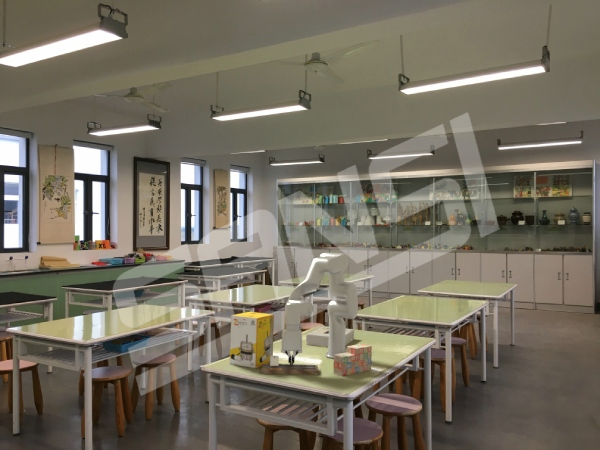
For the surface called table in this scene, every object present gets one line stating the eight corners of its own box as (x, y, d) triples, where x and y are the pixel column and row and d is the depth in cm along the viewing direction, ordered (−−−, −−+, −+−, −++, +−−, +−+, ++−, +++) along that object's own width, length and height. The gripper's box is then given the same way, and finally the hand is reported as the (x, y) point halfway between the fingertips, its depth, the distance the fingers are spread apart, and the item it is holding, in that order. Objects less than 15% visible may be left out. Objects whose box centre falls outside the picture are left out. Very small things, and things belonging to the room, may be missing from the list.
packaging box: (272, 361, 257) (274, 314, 258) (255, 368, 243) (257, 318, 243) (247, 357, 265) (249, 311, 265) (229, 363, 250) (231, 315, 251)
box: (321, 336, 331) (305, 345, 301) (321, 325, 331) (306, 332, 301) (354, 340, 322) (341, 349, 293) (354, 329, 323) (342, 337, 293)
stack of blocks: (342, 376, 232) (342, 350, 233) (333, 373, 237) (333, 348, 238) (371, 369, 246) (371, 345, 247) (362, 367, 251) (362, 343, 252)
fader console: (317, 369, 244) (317, 363, 244) (318, 374, 234) (319, 368, 234) (262, 368, 243) (262, 362, 243) (261, 373, 233) (261, 367, 233)
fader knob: (278, 365, 241) (278, 355, 241) (278, 367, 236) (278, 358, 236) (270, 365, 241) (270, 355, 241) (270, 367, 236) (270, 358, 236)
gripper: (306, 326, 243) (306, 362, 243) (277, 325, 243) (276, 362, 242) (307, 329, 236) (306, 366, 235) (277, 328, 235) (276, 366, 235)
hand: (291, 364), depth 239 cm, fingers closed
